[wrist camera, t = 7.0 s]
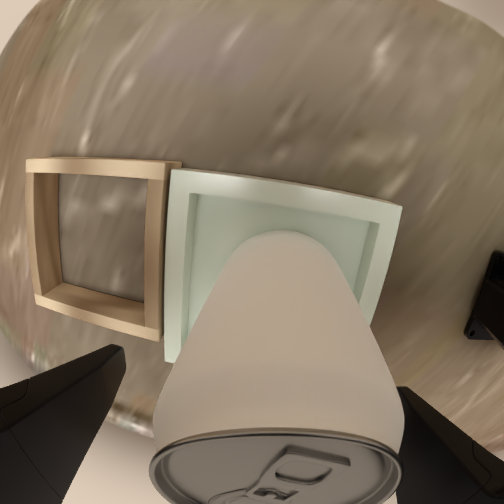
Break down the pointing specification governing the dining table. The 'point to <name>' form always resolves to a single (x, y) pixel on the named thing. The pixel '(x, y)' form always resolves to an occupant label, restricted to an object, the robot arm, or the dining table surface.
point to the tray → (259, 221)
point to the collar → (48, 251)
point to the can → (279, 389)
